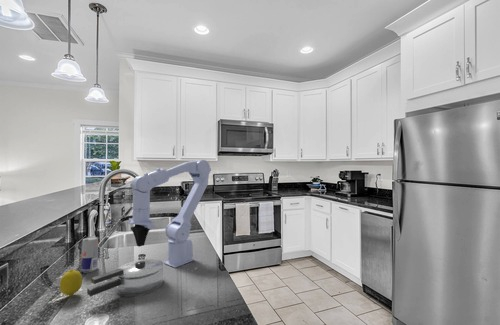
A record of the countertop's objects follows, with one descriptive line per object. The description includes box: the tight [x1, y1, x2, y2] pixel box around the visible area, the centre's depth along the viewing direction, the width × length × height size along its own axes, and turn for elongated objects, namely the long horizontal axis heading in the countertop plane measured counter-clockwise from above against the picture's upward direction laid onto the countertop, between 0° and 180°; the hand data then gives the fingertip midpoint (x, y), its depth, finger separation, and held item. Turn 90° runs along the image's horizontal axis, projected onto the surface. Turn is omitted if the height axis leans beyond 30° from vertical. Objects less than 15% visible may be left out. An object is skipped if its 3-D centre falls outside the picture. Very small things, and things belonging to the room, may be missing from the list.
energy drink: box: [80, 236, 99, 274], centre depth 92 cm, size 5×5×12 cm
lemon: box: [59, 269, 83, 297], centre depth 73 cm, size 6×6×8 cm
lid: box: [90, 258, 164, 285], centre depth 77 cm, size 21×14×2 cm, turn 143°
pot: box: [86, 266, 164, 298], centre depth 76 cm, size 22×14×5 cm, turn 143°
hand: (140, 245), depth 88 cm, fingers closed
